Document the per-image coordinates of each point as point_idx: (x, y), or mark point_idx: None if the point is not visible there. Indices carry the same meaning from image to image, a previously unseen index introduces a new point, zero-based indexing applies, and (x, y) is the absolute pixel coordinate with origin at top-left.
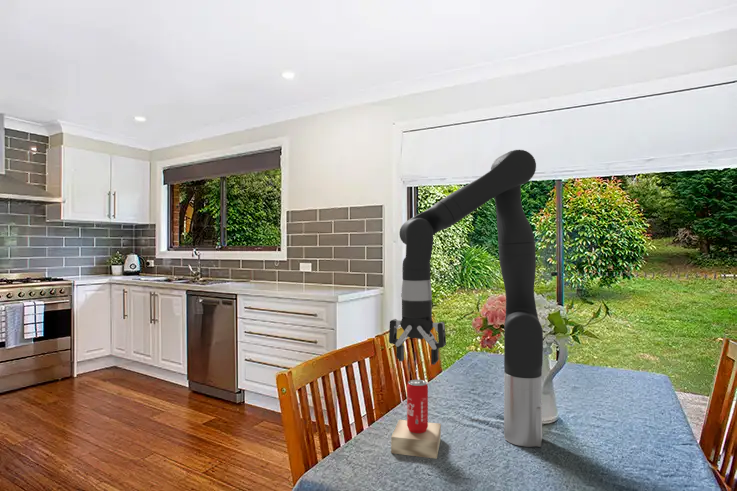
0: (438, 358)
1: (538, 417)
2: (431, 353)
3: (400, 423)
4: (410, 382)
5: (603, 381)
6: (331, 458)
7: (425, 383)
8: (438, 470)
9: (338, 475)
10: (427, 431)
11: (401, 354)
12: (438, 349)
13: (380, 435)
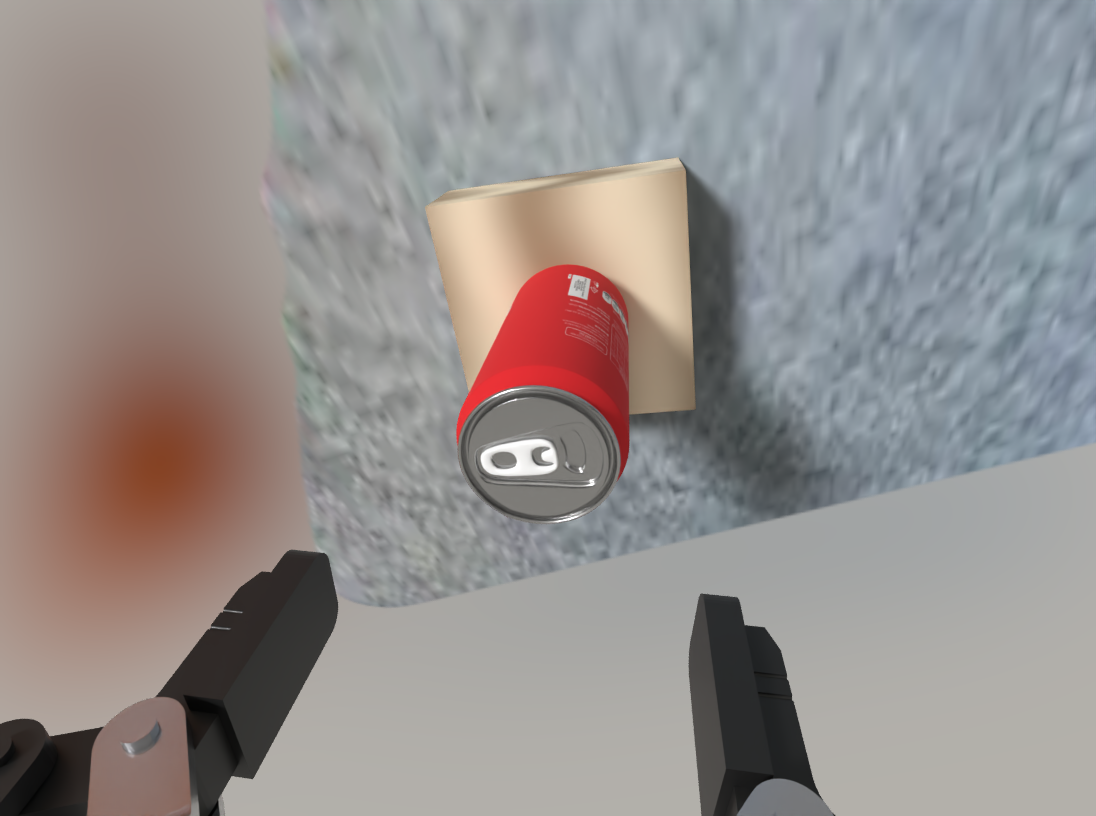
0: (781, 662)
1: None
2: (703, 788)
3: (456, 262)
4: (478, 459)
5: None
6: (315, 488)
7: (608, 454)
8: (706, 454)
9: (400, 566)
10: (628, 313)
11: (301, 676)
12: (814, 788)
13: (369, 238)
